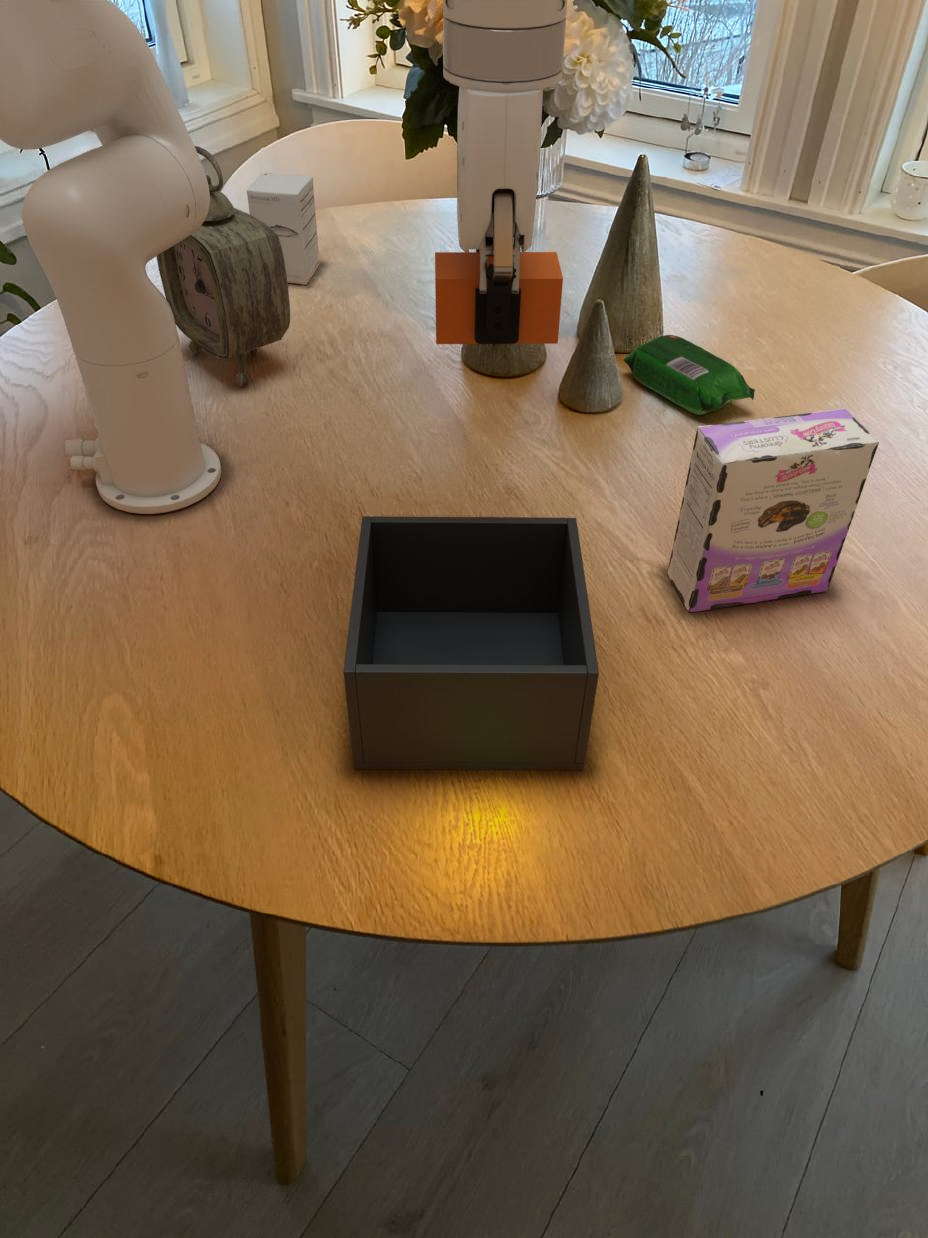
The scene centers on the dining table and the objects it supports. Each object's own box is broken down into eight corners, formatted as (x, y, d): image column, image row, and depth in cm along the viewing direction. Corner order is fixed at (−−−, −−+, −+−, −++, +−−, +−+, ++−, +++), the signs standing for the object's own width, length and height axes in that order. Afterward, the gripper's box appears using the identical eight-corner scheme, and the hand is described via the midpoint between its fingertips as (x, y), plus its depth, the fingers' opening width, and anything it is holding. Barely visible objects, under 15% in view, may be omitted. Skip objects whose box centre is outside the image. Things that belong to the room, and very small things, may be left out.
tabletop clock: (176, 352, 120) (131, 138, 103) (238, 330, 125) (204, 122, 107) (239, 397, 112) (202, 175, 95) (302, 372, 117) (278, 155, 100)
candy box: (799, 554, 93) (847, 404, 81) (828, 594, 88) (884, 441, 77) (664, 573, 90) (695, 421, 79) (688, 614, 86) (724, 461, 75)
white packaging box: (256, 281, 135) (243, 189, 127) (272, 260, 141) (261, 170, 132) (307, 286, 134) (297, 193, 126) (321, 264, 140) (313, 174, 131)
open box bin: (353, 769, 73) (343, 672, 66) (369, 612, 86) (362, 515, 78) (583, 770, 73) (599, 673, 66) (565, 613, 86) (576, 517, 79)
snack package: (709, 434, 108) (719, 393, 104) (616, 375, 117) (622, 336, 113) (752, 416, 111) (763, 375, 107) (658, 360, 120) (665, 321, 117)
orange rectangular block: (436, 344, 71) (435, 278, 67) (435, 316, 74) (434, 251, 70) (557, 343, 71) (563, 278, 67) (551, 315, 74) (556, 251, 71)
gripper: (441, 18, 66) (443, 277, 78) (444, 88, 53) (446, 382, 66) (550, 18, 66) (535, 276, 78) (579, 88, 54) (555, 381, 66)
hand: (494, 322), depth 72 cm, fingers closed on orange rectangular block, 4 cm apart
